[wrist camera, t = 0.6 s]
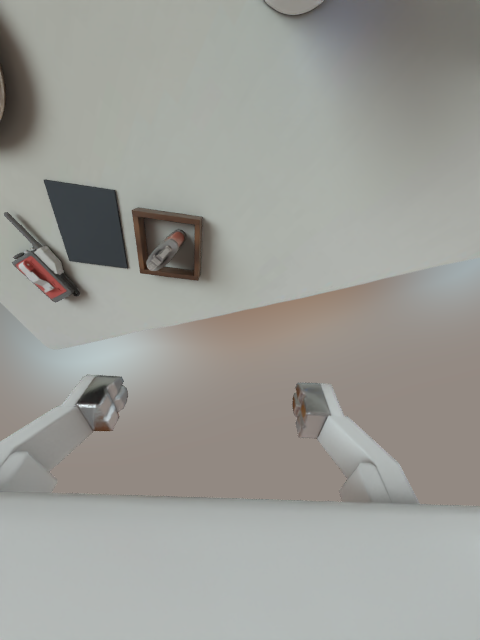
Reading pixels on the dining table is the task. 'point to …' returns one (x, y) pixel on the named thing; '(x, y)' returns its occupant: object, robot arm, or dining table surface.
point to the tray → (142, 245)
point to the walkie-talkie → (43, 268)
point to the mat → (88, 223)
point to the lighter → (165, 250)
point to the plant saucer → (2, 93)
